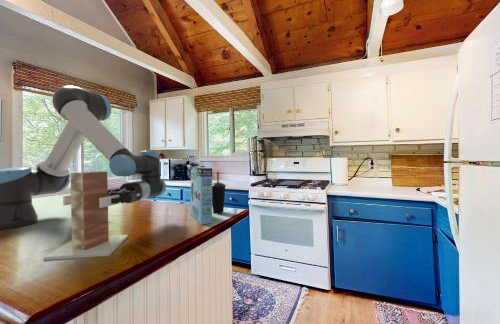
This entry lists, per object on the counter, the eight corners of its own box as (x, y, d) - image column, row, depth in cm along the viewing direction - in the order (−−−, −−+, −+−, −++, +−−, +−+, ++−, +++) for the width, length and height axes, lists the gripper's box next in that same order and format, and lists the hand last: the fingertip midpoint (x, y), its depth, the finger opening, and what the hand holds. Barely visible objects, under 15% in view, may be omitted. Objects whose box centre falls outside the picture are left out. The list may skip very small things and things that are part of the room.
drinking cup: (207, 214, 116) (206, 172, 115) (215, 210, 123) (215, 171, 122) (221, 215, 113) (221, 172, 112) (228, 211, 120) (228, 171, 120)
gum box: (190, 214, 114) (190, 166, 114) (201, 213, 117) (200, 166, 116) (200, 225, 97) (200, 168, 96) (213, 223, 99) (212, 167, 99)
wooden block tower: (72, 248, 70) (70, 173, 70) (96, 239, 78) (94, 171, 78) (85, 250, 69) (83, 173, 69) (108, 240, 77) (107, 171, 76)
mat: (43, 260, 64) (43, 257, 64) (76, 239, 80) (76, 237, 80) (108, 255, 67) (108, 252, 67) (127, 236, 83) (127, 234, 83)
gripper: (163, 203, 88) (116, 217, 67) (108, 200, 95) (50, 212, 74) (163, 182, 88) (116, 190, 67) (107, 181, 94) (49, 187, 74)
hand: (81, 201), depth 71 cm, fingers open, 13 cm apart
